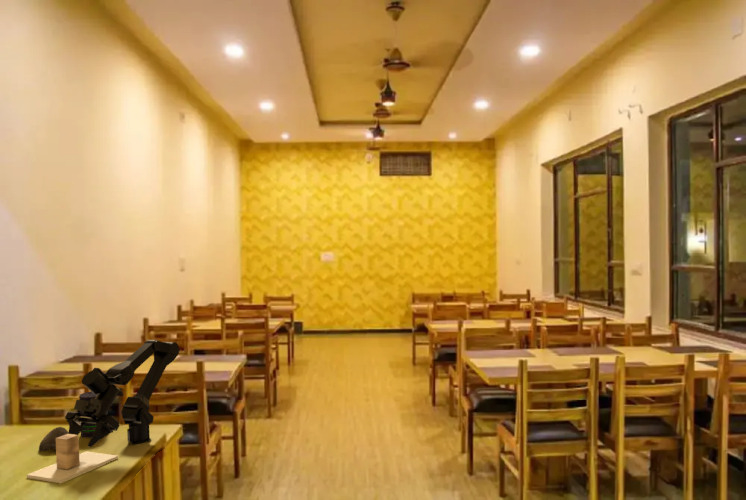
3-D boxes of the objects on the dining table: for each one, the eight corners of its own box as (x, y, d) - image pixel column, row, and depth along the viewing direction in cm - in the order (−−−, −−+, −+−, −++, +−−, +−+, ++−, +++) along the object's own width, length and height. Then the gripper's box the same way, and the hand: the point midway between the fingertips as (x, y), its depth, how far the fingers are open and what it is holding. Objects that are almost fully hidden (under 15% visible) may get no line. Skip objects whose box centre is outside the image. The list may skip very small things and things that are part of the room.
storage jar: (114, 432, 231) (112, 392, 230) (88, 439, 223) (87, 398, 223) (100, 428, 237) (99, 389, 237) (75, 435, 229) (73, 394, 229)
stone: (46, 465, 208) (68, 443, 209) (29, 447, 209) (51, 425, 210) (60, 459, 218) (81, 438, 219) (44, 442, 219) (65, 421, 220)
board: (86, 454, 206) (86, 451, 206) (118, 458, 201) (118, 455, 201) (26, 477, 186) (26, 474, 186) (60, 483, 180) (60, 479, 180)
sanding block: (69, 463, 194) (67, 433, 194) (79, 465, 193) (78, 435, 192) (56, 468, 190) (55, 438, 190) (67, 470, 188) (66, 439, 188)
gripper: (67, 386, 203) (40, 430, 193) (110, 390, 196) (84, 435, 186) (88, 404, 210) (62, 446, 201) (130, 408, 203) (106, 452, 193)
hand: (78, 445), depth 195 cm, fingers open, 9 cm apart
